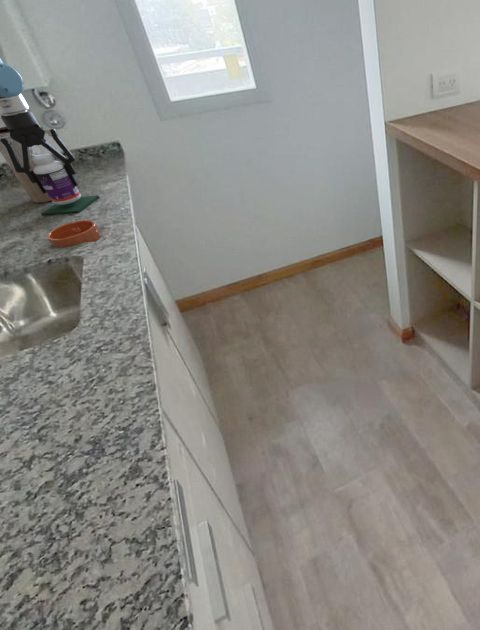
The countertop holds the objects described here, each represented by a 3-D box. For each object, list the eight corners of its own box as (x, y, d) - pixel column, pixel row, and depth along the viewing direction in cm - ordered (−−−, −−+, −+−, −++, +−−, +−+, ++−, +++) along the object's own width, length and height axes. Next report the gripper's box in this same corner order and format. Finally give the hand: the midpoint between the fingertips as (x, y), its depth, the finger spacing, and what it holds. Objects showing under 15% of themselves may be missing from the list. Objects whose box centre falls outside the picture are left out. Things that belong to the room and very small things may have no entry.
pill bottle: (50, 203, 143) (21, 159, 134) (76, 194, 147) (50, 150, 139) (60, 208, 139) (32, 162, 130) (86, 198, 144) (61, 154, 135)
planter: (29, 205, 147) (-17, 135, 133) (36, 195, 155) (-7, 128, 141) (63, 198, 150) (21, 129, 136) (69, 189, 158) (29, 122, 143)
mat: (42, 215, 140) (40, 213, 139) (65, 200, 149) (64, 198, 149) (78, 213, 139) (77, 210, 139) (99, 197, 149) (98, 195, 148)
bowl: (44, 253, 119) (36, 241, 117) (70, 232, 128) (64, 221, 126) (86, 249, 118) (79, 238, 116) (109, 229, 128) (103, 218, 126)
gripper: (-33, 122, 120) (20, 200, 134) (56, 107, 127) (97, 183, 142) (-27, 117, 125) (23, 193, 139) (57, 103, 133) (97, 176, 147)
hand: (60, 188), depth 140 cm, fingers closed on pill bottle, 8 cm apart
